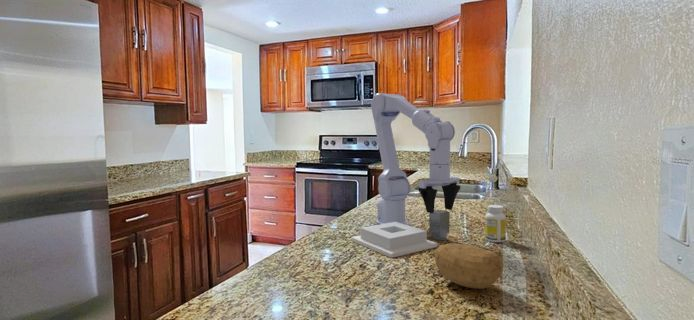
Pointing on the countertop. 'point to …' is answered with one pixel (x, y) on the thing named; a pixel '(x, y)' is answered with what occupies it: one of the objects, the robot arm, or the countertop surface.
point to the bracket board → (396, 251)
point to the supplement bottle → (495, 224)
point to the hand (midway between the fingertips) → (439, 210)
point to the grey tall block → (439, 224)
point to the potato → (468, 265)
